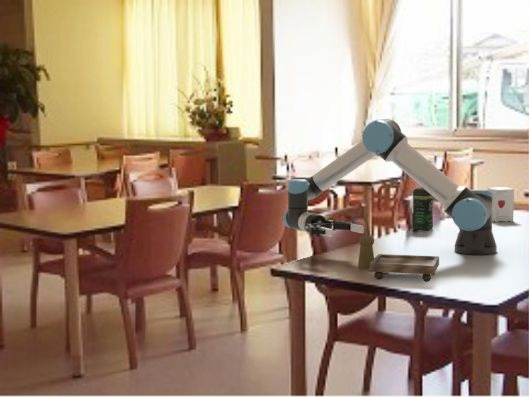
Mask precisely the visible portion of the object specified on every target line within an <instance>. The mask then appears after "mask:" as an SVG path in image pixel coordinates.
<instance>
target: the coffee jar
mask: <svg viewBox="0 0 529 397" xmlns="http://www.w3.org/2000/svg"><path fill="white" fill-rule="evenodd" d="M433 200H434V197H433V196H432V195H431V194H430V193H429V192H427V191H426V190H425V189H424V188H423V187H422V186H420V187H417V188H415V189H413V191H412V225H411V226H412V230H414V229H415V230H414V231H417V230H422V231H425V230H427V231H430V230H432V229H433V227H434V220H433V219H434V216H433V214H434V212H433V206H434V205H433V204H434V202H433Z"/></svg>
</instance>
